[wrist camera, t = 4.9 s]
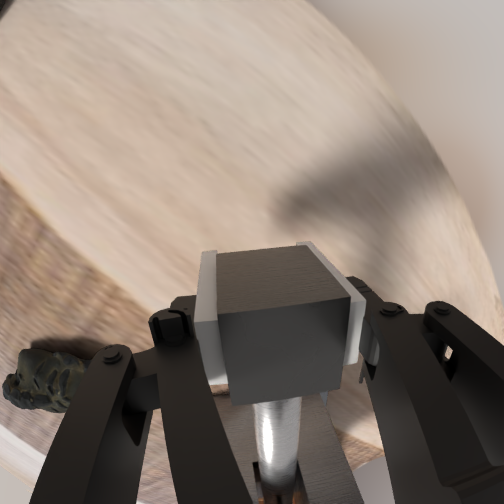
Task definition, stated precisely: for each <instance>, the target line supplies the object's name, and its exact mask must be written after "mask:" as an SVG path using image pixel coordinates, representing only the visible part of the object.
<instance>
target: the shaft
mask: <svg viewBox="0 0 504 504" xmlns="http://www.w3.org/2000/svg"><path fill="white" fill-rule="evenodd" d="M216 293H217V318H218V325H219V331H220V338H221V344H222V351H223V357H224V363H225V369H226V375H227V381H228V387H229V392H230V398H231V403H232V406H240V405H249V404H252V410H253V419H254V428H255V436H256V445H257V453H258V461H259V470H260V478H261V486H262V494H263V501H264V504H292V502H293V493H294V484H295V475H296V465H297V454H298V442H299V429H300V415H301V400H302V396H307V395H312V394H317V393H322V392H326V391H331V390H335V389H339V388H340V382H341V376H342V369H343V362H344V355H345V348H346V340H347V332H348V323H349V314H350V304H351V296H350V294H349V293H348V292H347V291H346V290H345V289H344V287H343V286H342V285H341V284H340V283H339V282H338V280H337V279H336V278H335V277H334V276H333V275H332V274H331V272H330V271H329V270H328V269H327V268H326V267H325V266H324V264H323V263H322V262H321V261H320V260H319V259H318V258H317V256H316V255H315V254H314V253H313V252H312V251H311V250H310V249H309V247H308V246H307V245H298V246H288V247H279V248H269V249H259V250H249V251H240V252H230V253H220V254H216Z"/></svg>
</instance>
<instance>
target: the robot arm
mask: <svg viewBox="0 0 504 504" xmlns="http://www.w3.org/2000/svg"><path fill="white" fill-rule="evenodd" d="M4 2H5V0H0V10H1V8H2V6H3V4H4ZM298 245H307V246H308V247H309V249H310V250H311V251H312V252H313V253H314V254H315V255H316V256H317V258H318V259H319V260H320V261H321V262H322V263H323V264H324V266H325V267H326V268H327V269H328V270H329V271H330V272H331V274H332V275H333V276H334V277H335V278H336V279H337V280H338V282H339V283H340V284H341V285H342V286H343V287H344V289H345V290H346V291H347V292H348V293H349V294H350V296H351V304H350V314H349V323H348V332H347V340H346V348H345V355H344V362H343V366H344V365H349V364H353V363H357V360H358V354H359V351H360V352H361V354H362V355H363V357H364V359H363V364H362V369H361V374H360V379H359V383H362V381H363V378H364V377H365V380H366V383H367V387H368V390H369V394H370V397H371V401H372V405H373V408H374V412H375V416H376V420H377V424H378V428H379V432H380V436H381V440H382V444H383V448H384V452H385V457H386V461H387V466H388V470H389V474H390V479H391V484H392V490H393V495H394V499H395V504H504V346H503V345H502V344H501V343H500V342H499V341H497V340H496V339H495V338H494V337H492V336H491V335H490V334H489V333H487V332H486V331H485V330H484V329H482V328H481V327H480V326H479V325H477V324H476V323H475V322H474V321H472V320H471V319H470V318H468V317H467V316H466V315H464V314H463V313H462V312H461V311H459V310H458V309H457V308H455V307H454V306H452V305H450V304H449V303H445V302H443V301H441V302H440V301H435V302H430V303H428V304H427V306H426V308H425V312H424V314H409V313H408V312H407V310H406V309H405V308H404V307H403V306H401V305H399V304H396V303H392V302H384V301H383V300H382V299H381V298H380V297H379V296H378V295H377V294H376V293H375V292H374V291H372V290H371V289H370V288H369V287H368V286H367V285H366V284H365V283H364V282H363V281H362V280H360V279H358V278H356V277H354V276H352V277H344V276H343V275H342V274H341V272H340V271H339V270H338V269H337V268H336V267H335V266H334V265H333V264H332V263H331V262H330V261H329V260H328V259H327V258H326V257H325V256H324V255H323V254H322V253H321V252H320V251H319V250H318V249H317V248H316V247H315V246H314V244H313V243H312V242H311V241H308V242H297V243H296V246H298ZM216 254H217V250H214V251H204V252H202V256H201V263H200V271H199V279H198V288H197V295H192V296H180V297H177V298H176V299H175V300H174V301H173V302H172V303H171V306H170V308H167V309H164V310H160V311H158V312H156V313H154V314H153V315H152V316H151V317H150V318H149V321H148V323H149V327H150V330H151V334H152V338H153V341H154V347H153V348H151V349H149V350H146V351H143V352H139V353H135V354H132V352H131V350H130V348H129V347H127V346H125V345H120V344H116V345H109V346H106V347H104V348H102V349H101V350H99V351H98V352H97V353H96V354H95V356H94V357H93V359H92V361H91V363H90V365H89V367H88V369H87V371H86V373H85V375H84V377H83V379H82V380H81V382H80V384H79V386H78V388H77V390H76V392H75V395H74V397H73V399H72V401H71V403H70V405H69V407H68V409H67V411H66V413H65V415H64V418H63V420H62V422H61V424H60V426H59V429H58V431H57V433H56V435H55V438H54V440H53V442H52V445H51V447H50V449H49V452H48V454H47V457H46V459H45V462H44V464H43V467H42V469H41V472H40V474H39V477H38V480H37V482H36V485H35V488H34V491H33V493H32V496H31V499H30V502H29V504H136V500H137V494H138V488H139V482H140V476H141V471H142V465H143V460H144V454H145V449H146V444H147V439H148V434H149V429H150V424H151V419H152V415H153V410H155V409H159V408H161V413H162V421H163V427H164V434H165V440H166V446H167V452H168V458H169V463H170V468H171V473H172V478H173V483H174V488H175V492H176V497H177V501H178V504H254V503H253V501H252V499H251V496H250V494H249V492H248V489H247V487H246V484H245V482H244V479H243V477H242V475H241V472H240V470H239V467H238V464H237V462H236V459H235V457H234V454H233V451H232V449H231V446H230V443H229V441H228V438H227V435H226V433H225V430H224V427H223V424H222V421H221V418H220V416H219V413H218V410H217V407H216V404H215V401H214V398H213V395H212V392H211V389H210V386H209V385H217V384H228V381H227V375H226V369H225V363H224V357H223V351H222V344H221V338H220V331H219V325H218V318H217V293H216ZM448 346H449V347H450V348H451V349H452V350H453V351H452V354H451V357H450V359H448V358H446V357H445V353H446V350H447V347H448Z"/></svg>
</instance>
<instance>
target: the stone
mask: <svg viewBox="0 0 504 504" xmlns="http://www.w3.org/2000/svg"><path fill="white" fill-rule="evenodd" d="M91 361H92V359H90V360H83V359H78V358H77V357H75V356H73V355H71V354H69V353H66V352H58V351H57V352H55V353H54V354H53V353H51V352H48V351H45V350H42V349H37V348H31V349H23V350H21V352H20V353H19V357H18V366H17V367H18V368H17V370H16V373H15V374H9V375H8V376H7V377H6V380H5V381H4V383H3V386H2V388H3V395H4V397H5V399H7V400H9V401H11V403H12V404H13V405H15V406H16V407H19V408H21V409H30V410H34V409H36V408H37V409H43V410H46V411H49V412H53V413H65V412H66V411H67V409H68V407H69V405H70V403H71V401H72V399H73V397H74V395H75V392H76V390H77V388H78V386H79V384H80V382H81V380H82V379H83V377H84V375H85V373H86V371H87V369H88V367H89V365H90V363H91Z"/></svg>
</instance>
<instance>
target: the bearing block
mask: <svg viewBox="0 0 504 504" xmlns="http://www.w3.org/2000/svg"><path fill="white" fill-rule="evenodd" d="M327 396H328V391H326V392H322V393H317V394H312V395H307V396H302V400H301V415H300V429H299V442H298V454H297V465H296V475H295V484H294V493H293V496H294V500H295V504H364V501H363V499H362V496H361V494H360V491H359V489H358V486H357V484H356V481H355V479H354V476H353V474H352V471H351V469H350V466H349V464H348V461H347V459H346V456H345V454H344V451H343V449H342V446H341V444H340V441H339V439H338V437H337V434H336V432H335V429H334V427H333V424H332V422H331V419H330V417H329V415H328V412H327V410H326V402H327ZM213 398H214V401H215V404H216V407H217V410H218V413H219V416H220V418H221V421H222V424H223V427H224V430H225V433H226V435H227V438H228V441H229V443H230V446H231V449H232V451H233V454H234V457H235V459H236V462H237V464H238V467H239V470H240V472H241V475H242V477H243V479H244V482H245V484H246V487H247V489H248V492H249V494H250V496H251V499H252V501H253V503H254V504H259V501H258V498H263V494H262V486H261V478H260V470H259V461H258V453H257V445H256V436H255V428H254V419H253V410H252V404H249V405H240V406H232V403H231V398H230V394H228V395H216V396H213Z"/></svg>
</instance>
